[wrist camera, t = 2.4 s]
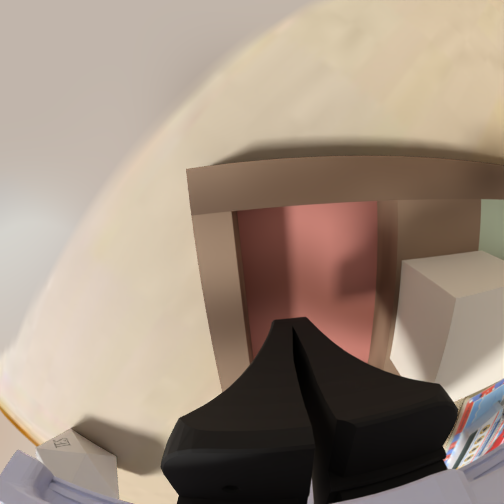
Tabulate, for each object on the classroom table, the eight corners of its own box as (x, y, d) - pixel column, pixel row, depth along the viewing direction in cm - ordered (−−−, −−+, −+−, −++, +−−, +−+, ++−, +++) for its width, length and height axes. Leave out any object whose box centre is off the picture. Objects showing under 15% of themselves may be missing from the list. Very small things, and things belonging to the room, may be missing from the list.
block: (464, 338, 12) (504, 378, 8) (390, 358, 12) (423, 413, 8) (481, 250, 10) (536, 276, 6) (401, 260, 11) (456, 298, 7)
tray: (537, 327, 14) (552, 339, 12) (235, 402, 16) (231, 431, 13) (559, 177, 11) (579, 181, 9) (200, 170, 12) (186, 169, 10)
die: (92, 411, 18) (4, 444, 11) (151, 494, 15) (63, 535, 8) (92, 425, 23) (24, 451, 15) (137, 488, 20) (69, 520, 12)
